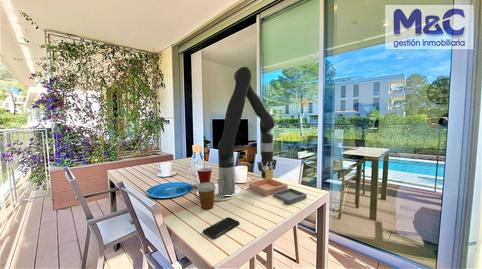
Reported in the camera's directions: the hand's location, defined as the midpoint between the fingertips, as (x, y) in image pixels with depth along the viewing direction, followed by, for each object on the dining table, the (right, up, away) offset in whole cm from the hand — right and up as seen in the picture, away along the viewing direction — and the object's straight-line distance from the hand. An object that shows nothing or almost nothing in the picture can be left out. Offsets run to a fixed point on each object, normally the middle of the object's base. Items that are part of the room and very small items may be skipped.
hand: (267, 176), depth 127 cm
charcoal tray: (+11, -9, -12) cm, 19 cm away
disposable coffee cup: (-34, -11, -21) cm, 42 cm away
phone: (-24, -13, -41) cm, 50 cm away
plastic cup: (-41, -9, +11) cm, 43 cm away
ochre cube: (0, -1, 0) cm, 1 cm away
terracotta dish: (+1, -8, +1) cm, 8 cm away
